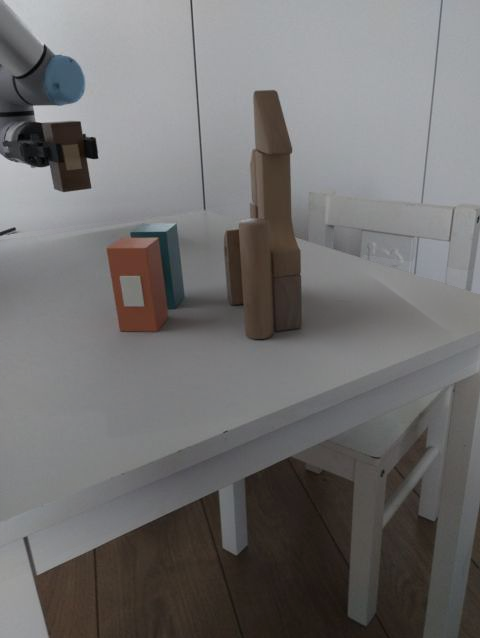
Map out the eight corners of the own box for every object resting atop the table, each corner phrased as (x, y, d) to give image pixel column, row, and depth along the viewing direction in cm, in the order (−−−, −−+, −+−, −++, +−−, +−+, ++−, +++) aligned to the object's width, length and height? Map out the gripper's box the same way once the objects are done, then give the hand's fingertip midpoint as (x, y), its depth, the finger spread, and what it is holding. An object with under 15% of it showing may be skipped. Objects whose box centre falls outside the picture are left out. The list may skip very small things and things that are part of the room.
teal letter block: (152, 296, 78) (142, 223, 74) (184, 296, 77) (176, 223, 73) (140, 309, 74) (129, 232, 69) (175, 309, 73) (165, 231, 69)
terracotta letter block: (133, 316, 71) (121, 237, 67) (168, 317, 71) (158, 237, 66) (119, 331, 67) (105, 248, 63) (156, 332, 66) (145, 248, 62)
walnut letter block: (54, 189, 92) (41, 122, 88) (81, 185, 94) (70, 120, 90) (63, 192, 88) (50, 123, 84) (92, 188, 91) (81, 121, 87)
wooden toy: (224, 297, 76) (209, 92, 66) (273, 291, 78) (265, 89, 67) (248, 342, 63) (233, 92, 52) (307, 334, 64) (303, 88, 53)
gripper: (84, 160, 108) (135, 170, 91) (-14, 171, 99) (22, 184, 82) (77, 118, 105) (129, 120, 88) (-25, 125, 96) (10, 128, 79)
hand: (77, 151), depth 85 cm, fingers closed on walnut letter block, 5 cm apart
